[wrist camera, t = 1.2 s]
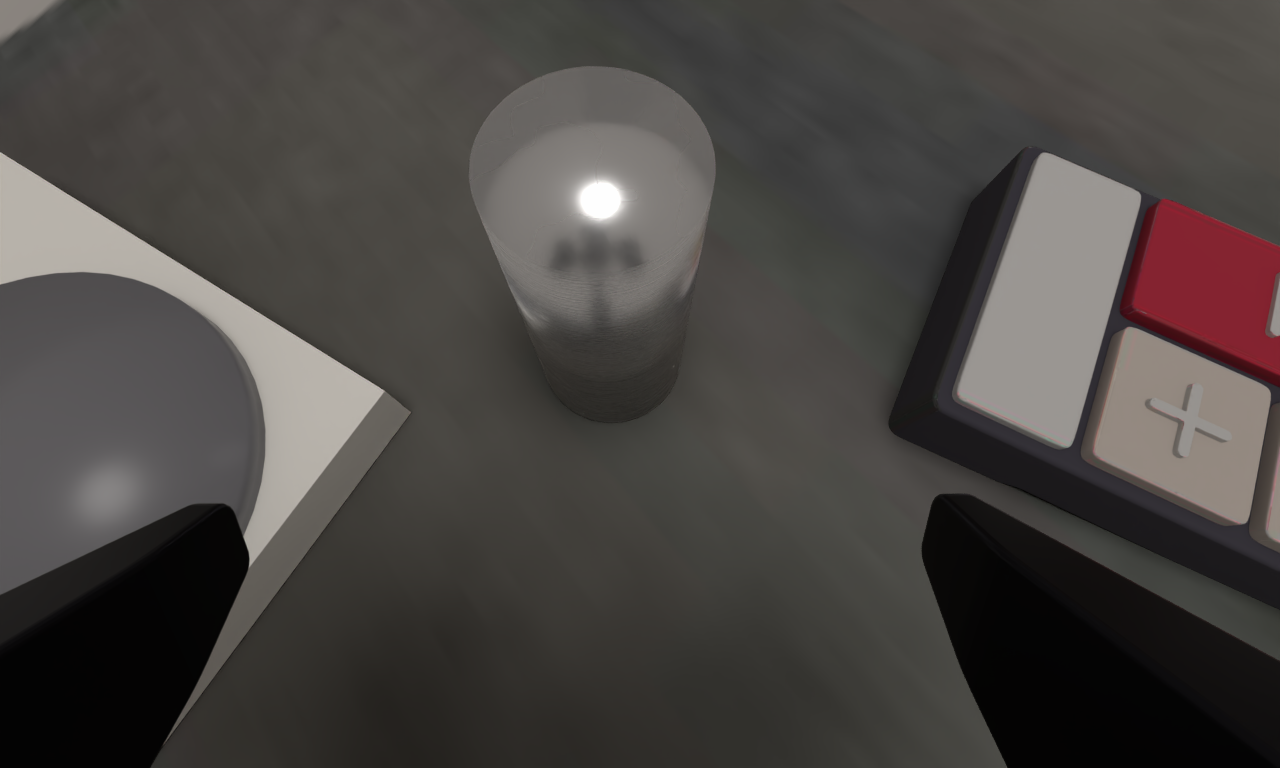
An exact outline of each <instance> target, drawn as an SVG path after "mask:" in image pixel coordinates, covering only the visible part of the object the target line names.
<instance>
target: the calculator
mask: <svg viewBox="0 0 1280 768" xmlns="http://www.w3.org/2000/svg"><path fill="white" fill-rule="evenodd" d="M889 427H890V429H891V431H892V432H893V433H894V434H895V435H897V436H899V437H901V438H903V439H905V440H907V441H909V442H911V443H914V444H916V445H918V446H920V447H922V448H925V449H927V450H929V451H931V452H933V453H936V454H938V455H940V456H942V457H944V458H947V459H949V460H951V461H953V462H955V463H958V464H960V465H962V466H964V467H966V468H969V469H971V470H973V471H975V472H977V473H980V474H982V475H984V476H986V477H988V478H991V479H993V480H995V481H998V482H1000V483H1003V484H1007V485H1011V486H1014V487H1017V488H1020V489H1022V490H1024V491H1026V492H1028V493H1030V494H1033V495H1035V496H1037V497H1039V498H1041V499H1043V500H1045V501H1047V502H1049V503H1052V504H1054V505H1056V506H1058V507H1060V508H1062V509H1064V510H1066V511H1068V512H1070V513H1073V514H1075V515H1077V516H1079V517H1081V518H1083V519H1085V520H1087V521H1089V522H1091V523H1094V524H1096V525H1098V526H1100V527H1102V528H1104V529H1106V530H1108V531H1110V532H1112V533H1115V534H1117V535H1119V536H1121V537H1123V538H1125V539H1127V540H1129V541H1131V542H1134V543H1136V544H1138V545H1140V546H1142V547H1144V548H1146V549H1148V550H1150V551H1152V552H1155V553H1157V554H1159V555H1161V556H1163V557H1165V558H1167V559H1170V560H1172V561H1174V562H1176V563H1178V564H1181V565H1183V566H1185V567H1187V568H1189V569H1192V570H1194V571H1196V572H1198V573H1200V574H1203V575H1205V576H1207V577H1209V578H1211V579H1213V580H1216V581H1218V582H1220V583H1222V584H1224V585H1227V586H1229V587H1231V588H1233V589H1235V590H1238V591H1240V592H1242V593H1244V594H1246V595H1249V596H1251V597H1253V598H1255V599H1257V600H1260V601H1262V602H1264V603H1266V604H1268V605H1271V606H1273V607H1275V608H1277V609H1279V610H1280V246H1278V245H1276V244H1273V243H1271V242H1269V241H1266V240H1264V239H1262V238H1259V237H1257V236H1255V235H1252V234H1250V233H1247V232H1245V231H1243V230H1240V229H1238V228H1236V227H1233V226H1231V225H1229V224H1226V223H1224V222H1222V221H1219V220H1217V219H1214V218H1212V217H1210V216H1207V215H1205V214H1203V213H1200V212H1198V211H1196V210H1193V209H1191V208H1189V207H1186V206H1184V205H1182V204H1179V203H1177V202H1174V201H1171V200H1168V199H1161V200H1160V199H1158V198H1156V197H1153V196H1151V195H1149V194H1146V193H1144V192H1142V191H1139V190H1137V189H1135V188H1132V187H1130V186H1127V185H1125V184H1123V183H1120V182H1118V181H1116V180H1113V179H1111V178H1109V177H1106V176H1104V175H1102V174H1099V173H1097V172H1095V171H1092V170H1090V169H1087V168H1085V167H1083V166H1080V165H1078V164H1076V163H1073V162H1071V161H1069V160H1066V159H1064V158H1062V157H1059V156H1057V155H1055V154H1052V153H1050V152H1047V151H1045V150H1043V149H1040V148H1037V147H1033V146H1029V147H1026V148H1024V149H1023V150H1022V151H1021V152H1020V153H1018V154H1017V155H1016V157H1015V158H1014V159H1013V160H1012V161H1011V162H1010V163H1009V164H1008V165H1007V166H1006V167H1005V168H1004V169H1003V170H1002V171H1001V172H1000V173H999V174H998V175H997V176H996V177H995V178H994V179H993V180H992V181H991V182H990V183H989V184H988V185H987V187H986V188H985V189H984V190H983V191H982V192H981V193H980V194H979V195H978V196H977V197H976V198H975V199H974V200H973V201H972V203H971V205H970V208H969V210H968V213H967V215H966V218H965V221H964V223H963V226H962V229H961V231H960V234H959V236H958V239H957V242H956V244H955V247H954V250H953V252H952V255H951V257H950V260H949V263H948V265H947V268H946V271H945V273H944V276H943V278H942V281H941V284H940V286H939V289H938V292H937V294H936V297H935V299H934V302H933V305H932V307H931V310H930V313H929V315H928V318H927V320H926V323H925V326H924V328H923V331H922V334H921V336H920V339H919V341H918V344H917V347H916V349H915V352H914V355H913V357H912V360H911V362H910V365H909V368H908V370H907V373H906V376H905V378H904V381H903V383H902V386H901V389H900V391H899V394H898V397H897V399H896V402H895V404H894V407H893V410H892V412H891V415H890V418H889Z"/></svg>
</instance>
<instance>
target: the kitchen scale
mask: <svg viewBox="0 0 1280 768" xmlns="http://www.w3.org/2000/svg"><path fill="white" fill-rule="evenodd" d="M410 414H411V412H410V411H409V410H407V409H406V408H405V407H404V406H403V405H401V404H400V403H399V402H398V401H396V400H395V399H394V398H393V397H392V396H390V395H389V394H388V393H387V392H385V391H384V390H382V389H381V388H379V387H378V386H376V385H374V384H373V383H371V382H369V381H368V380H366V379H365V378H363V377H361V376H360V375H358V374H357V373H355V372H353V371H352V370H350V369H349V368H347V367H345V366H344V365H342V364H340V363H339V362H337V361H336V360H334V359H332V358H331V357H329V356H328V355H326V354H324V353H323V352H321V351H320V350H318V349H316V348H315V347H313V346H311V345H310V344H308V343H307V342H305V341H303V340H302V339H300V338H299V337H297V336H295V335H294V334H292V333H290V332H289V331H287V330H286V329H284V328H282V327H281V326H279V325H278V324H276V323H274V322H273V321H271V320H270V319H268V318H266V317H265V316H263V315H261V314H260V313H258V312H257V311H255V310H253V309H252V308H250V307H249V306H247V305H245V304H244V303H242V302H241V301H239V300H237V299H236V298H234V297H232V296H231V295H229V294H228V293H226V292H224V291H223V290H221V289H220V288H218V287H216V286H215V285H213V284H212V283H210V282H208V281H207V280H205V279H203V278H202V277H200V276H199V275H197V274H195V273H194V272H192V271H191V270H189V269H187V268H186V267H184V266H183V265H181V264H179V263H178V262H176V261H174V260H173V259H171V258H170V257H168V256H166V255H165V254H163V253H162V252H160V251H158V250H157V249H155V248H153V247H152V246H150V245H149V244H147V243H145V242H144V241H142V240H141V239H139V238H137V237H136V236H134V235H133V234H131V233H129V232H128V231H126V230H124V229H123V228H121V227H120V226H118V225H116V224H115V223H113V222H112V221H110V220H108V219H107V218H105V217H104V216H102V215H100V214H99V213H97V212H95V211H94V210H92V209H91V208H89V207H87V206H86V205H84V204H83V203H81V202H79V201H78V200H76V199H75V198H73V197H71V196H70V195H68V194H66V193H65V192H63V191H62V190H60V189H58V188H57V187H55V186H54V185H52V184H50V183H49V182H47V181H46V180H44V179H42V178H41V177H39V176H37V175H36V174H34V173H33V172H31V171H29V170H28V169H26V168H25V167H23V166H21V165H20V164H18V163H16V162H15V161H13V160H12V159H10V158H8V157H7V156H5V155H4V154H2V153H0V595H1V594H3V593H5V592H7V591H9V590H11V589H13V588H15V587H18V586H20V585H22V584H24V583H26V582H28V581H30V580H32V579H34V578H37V577H39V576H41V575H43V574H45V573H47V572H49V571H51V570H53V569H55V568H58V567H60V566H62V565H64V564H66V563H68V562H70V561H72V560H74V559H77V558H79V557H81V556H83V555H85V554H87V553H89V552H91V551H93V550H95V549H98V548H100V547H102V546H104V545H106V544H108V543H110V542H112V541H114V540H117V539H119V538H121V537H123V536H125V535H127V534H129V533H131V532H133V531H135V530H138V529H140V528H142V527H144V526H146V525H148V524H150V523H152V522H154V521H157V520H159V519H161V518H163V517H165V516H167V515H169V514H171V513H173V512H175V511H178V510H180V509H182V508H184V507H186V506H188V505H191V504H196V503H224V504H227V505H229V506H230V507H231V508H232V509H233V510H234V512H235V515H236V517H237V520H238V523H239V526H240V529H241V531H242V534H243V537H244V540H245V543H246V545H247V548H248V551H249V558H250V562H249V568H248V572H247V575H246V577H245V579H244V582H243V584H242V586H241V588H240V590H239V593H238V595H237V597H236V599H235V602H234V604H233V606H232V608H231V611H230V613H229V615H228V617H227V620H226V622H225V624H224V626H223V629H222V631H221V633H220V635H219V638H218V640H217V642H216V644H215V646H214V649H213V651H212V653H211V655H210V658H209V660H208V662H207V664H206V667H205V669H204V671H203V673H202V675H201V677H200V679H199V681H198V683H197V685H196V687H195V689H194V691H193V693H192V694H191V696H190V698H189V700H188V702H187V704H186V706H185V707H184V709H183V711H182V713H181V714H180V716H179V718H178V720H177V721H176V723H175V725H174V727H173V728H172V730H171V732H170V734H169V735H168V737H167V739H166V741H167V740H168V738H169V737H170V736H171V734H172V733H173V732H174V730H175V729H176V728H177V726H178V725H179V723H180V722H181V721H182V719H183V718H184V717H185V715H186V714H187V713H188V711H189V710H190V709H191V707H192V706H193V705H194V703H195V702H196V701H197V699H198V698H199V697H200V695H201V694H202V693H203V691H204V690H205V689H206V687H207V686H208V685H209V683H210V682H211V681H212V679H213V678H214V677H215V675H216V674H217V673H218V671H219V670H220V668H221V667H222V666H223V664H224V663H225V662H226V660H227V659H228V658H229V656H230V655H231V654H232V652H233V651H234V650H235V648H236V647H237V646H238V644H239V643H240V642H241V640H242V639H243V638H244V636H245V635H246V634H247V632H248V631H249V630H250V628H251V627H252V626H253V624H254V623H255V622H256V620H257V619H258V617H259V616H260V615H261V613H262V612H263V611H264V609H265V608H266V607H267V605H268V604H269V603H270V601H271V600H272V599H273V597H274V596H275V595H276V593H277V592H278V591H279V589H280V588H281V587H282V585H283V584H284V583H285V581H286V580H287V579H288V577H289V576H290V575H291V573H292V572H293V571H294V569H295V568H296V566H297V565H298V564H299V562H300V561H301V560H302V558H303V557H304V556H305V554H306V553H307V552H308V550H309V549H310V548H311V546H312V545H313V544H314V542H315V541H316V540H317V538H318V537H319V536H320V534H321V533H322V532H323V530H324V529H325V528H326V526H327V525H328V524H329V522H330V521H331V520H332V518H333V517H334V515H335V514H336V513H337V511H338V510H339V509H340V507H341V506H342V505H343V503H344V502H345V501H346V499H347V498H348V497H349V495H350V494H351V493H352V491H353V490H354V489H355V487H356V486H357V485H358V483H359V482H360V481H361V479H362V478H363V477H364V475H365V474H366V473H367V471H368V470H369V469H370V467H371V466H372V465H373V463H374V462H375V460H376V459H377V458H378V456H379V455H380V454H381V452H382V451H383V450H384V448H385V447H386V446H387V444H388V443H389V442H390V440H391V439H392V438H393V436H394V435H395V434H396V432H397V431H398V430H399V428H400V427H401V426H402V424H403V423H404V422H405V420H406V419H407V418H408V416H409V415H410ZM166 741H165V742H166ZM165 742H164V744H165ZM164 744H163V745H164Z"/></svg>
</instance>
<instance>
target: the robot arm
mask: <svg viewBox="0 0 1280 768" xmlns="http://www.w3.org/2000/svg"><path fill="white" fill-rule="evenodd" d="M922 559H923V563H924V566H925V569H926V572H927V575H928V577H929V580H930V583H931V586H932V589H933V592H934V594H935V597H936V600H937V603H938V606H939V609H940V611H941V614H942V617H943V620H944V623H945V626H946V628H947V631H948V634H949V637H950V640H951V643H952V645H953V648H954V651H955V654H956V657H957V659H958V662H959V664H960V667H961V669H962V672H963V674H964V677H965V679H966V681H967V683H968V685H969V688H970V690H971V692H972V694H973V696H974V698H975V701H976V703H977V705H978V707H979V709H980V711H981V713H982V715H983V717H984V719H985V721H986V724H987V726H988V728H989V730H990V732H991V734H992V736H993V738H994V740H995V742H996V745H997V747H998V749H999V751H1000V753H1001V755H1002V757H1003V759H1004V761H1005V763H1006V765H1007V768H1280V661H1279V660H1277V659H1275V658H1273V657H1271V656H1270V655H1268V654H1266V653H1264V652H1262V651H1260V650H1259V649H1257V648H1255V647H1253V646H1251V645H1249V644H1247V643H1246V642H1244V641H1242V640H1240V639H1238V638H1236V637H1234V636H1233V635H1231V634H1229V633H1227V632H1225V631H1223V630H1221V629H1220V628H1218V627H1216V626H1214V625H1212V624H1210V623H1209V622H1207V621H1205V620H1203V619H1201V618H1199V617H1197V616H1196V615H1194V614H1192V613H1190V612H1188V611H1186V610H1184V609H1183V608H1181V607H1179V606H1177V605H1175V604H1173V603H1171V602H1170V601H1168V600H1166V599H1164V598H1162V597H1160V596H1159V595H1157V594H1155V593H1153V592H1151V591H1149V590H1147V589H1146V588H1144V587H1142V586H1140V585H1138V584H1136V583H1134V582H1133V581H1131V580H1129V579H1127V578H1125V577H1123V576H1121V575H1120V574H1118V573H1116V572H1114V571H1112V570H1110V569H1109V568H1107V567H1105V566H1103V565H1101V564H1099V563H1097V562H1096V561H1094V560H1092V559H1090V558H1088V557H1086V556H1084V555H1083V554H1081V553H1079V552H1077V551H1075V550H1073V549H1072V548H1070V547H1068V546H1066V545H1064V544H1062V543H1060V542H1059V541H1057V540H1055V539H1053V538H1051V537H1049V536H1047V535H1046V534H1044V533H1042V532H1040V531H1038V530H1036V529H1035V528H1033V527H1031V526H1029V525H1027V524H1025V523H1023V522H1022V521H1020V520H1018V519H1016V518H1014V517H1012V516H1010V515H1009V514H1007V513H1005V512H1003V511H1001V510H999V509H998V508H996V507H994V506H992V505H990V504H988V503H986V502H985V501H983V500H981V499H979V498H977V497H975V496H973V495H971V494H940V495H938V496H936V497H935V499H934V500H933V502H932V505H931V509H930V513H929V517H928V521H927V525H926V529H925V533H924V537H923V542H922ZM249 562H250V558H249V551H248V548H247V545H246V543H245V540H244V537H243V534H242V531H241V529H240V526H239V523H238V520H237V517H236V515H235V512H234V510H233V509H232V508H231V507H230V506H229V505H227V504H224V503H196V504H191V505H188V506H186V507H184V508H182V509H180V510H178V511H175V512H173V513H171V514H169V515H167V516H165V517H163V518H161V519H159V520H157V521H154V522H152V523H150V524H148V525H146V526H144V527H142V528H140V529H138V530H135V531H133V532H131V533H129V534H127V535H125V536H123V537H121V538H119V539H117V540H114V541H112V542H110V543H108V544H106V545H104V546H102V547H100V548H98V549H95V550H93V551H91V552H89V553H87V554H85V555H83V556H81V557H79V558H77V559H74V560H72V561H70V562H68V563H66V564H64V565H62V566H60V567H58V568H55V569H53V570H51V571H49V572H47V573H45V574H43V575H41V576H39V577H37V578H34V579H32V580H30V581H28V582H26V583H24V584H22V585H20V586H18V587H15V588H13V589H11V590H9V591H7V592H5V593H3V594H1V595H0V768H150V767H151V765H152V764H153V762H154V760H155V758H156V757H157V755H158V753H159V751H160V750H161V748H162V746H163V744H164V742H165V741H166V739H167V737H168V735H169V734H170V732H171V730H172V728H173V727H174V725H175V723H176V721H177V720H178V718H179V716H180V714H181V713H182V711H183V709H184V707H185V706H186V704H187V702H188V700H189V698H190V696H191V694H192V693H193V691H194V689H195V687H196V685H197V683H198V681H199V679H200V677H201V675H202V673H203V671H204V669H205V667H206V664H207V662H208V660H209V658H210V655H211V653H212V651H213V649H214V646H215V644H216V642H217V640H218V638H219V635H220V633H221V631H222V629H223V626H224V624H225V622H226V620H227V617H228V615H229V613H230V611H231V608H232V606H233V604H234V602H235V599H236V597H237V595H238V593H239V590H240V588H241V586H242V584H243V582H244V579H245V577H246V575H247V572H248V568H249Z"/></svg>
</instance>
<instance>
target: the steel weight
mask: <svg viewBox="0 0 1280 768" xmlns="http://www.w3.org/2000/svg"><path fill="white" fill-rule="evenodd" d="M715 170H716V163H715V154H714V149H713V145H712V141H711V138H710V136H709V134H708V131H707V129H706V127H705V125H704V123H703V122H702V120H701V119H700V117H699V115H698V114H697V113H696V112H695V110H694V109H693V108H692V107H691V106H690V104H688V103H687V102H686V101H685V100H684V99H683V98H682V97H681V96H680V95H679V94H677V93H676V92H674V91H673V90H672V89H670V88H669V87H667V86H666V85H664V84H662V83H660V82H658V81H657V80H655V79H652V78H650V77H647V76H645V75H643V74H639V73H636V72H633V71H629V70H625V69H619V68H613V67H600V66H591V67H577V68H570V69H565V70H561V71H557V72H552V73H550V74H547V75H544V76H541V77H539V78H537V79H534V80H532V81H530V82H528V83H526V84H524V85H523V86H521V87H520V88H518V89H517V90H515V91H514V92H512V93H511V94H510V95H508V96H507V97H506V98H505V99H504V100H502V101H501V102H500V103H499V104H498V105H497V106H496V108H495V109H494V110H493V111H492V112H491V113H490V115H489V116H488V117H487V119H486V120H485V121H484V123H483V125H482V126H481V128H480V130H479V132H478V134H477V136H476V139H475V142H474V144H473V147H472V151H471V156H470V161H469V181H470V189H471V193H472V196H473V200H474V203H475V205H476V208H477V210H478V213H479V215H480V217H481V220H482V222H483V225H484V227H485V230H486V232H487V234H488V237H489V239H490V242H491V244H492V247H493V249H494V251H495V254H496V256H497V259H498V261H499V264H500V266H501V268H502V271H503V273H504V276H505V278H506V281H507V283H508V285H509V288H510V290H511V293H512V295H513V298H514V300H515V302H516V305H517V307H518V310H519V312H520V315H521V317H522V319H523V322H524V324H525V327H526V329H527V331H528V334H529V336H530V339H531V341H532V344H533V346H534V348H535V351H536V353H537V356H538V358H539V361H540V363H541V365H542V368H543V370H544V373H545V375H546V378H547V380H548V382H549V385H550V387H551V389H552V390H553V392H554V394H555V395H556V396H557V398H558V399H559V400H560V401H561V402H562V403H563V404H564V405H565V406H566V407H567V408H568V409H570V410H571V411H573V412H574V413H576V414H578V415H580V416H582V417H584V418H587V419H590V420H593V421H598V422H606V423H618V422H625V421H630V420H633V419H636V418H639V417H641V416H643V415H645V414H647V413H648V412H650V411H652V410H653V409H654V408H656V407H657V406H658V405H659V404H660V403H661V402H662V401H663V400H664V399H665V398H666V397H667V395H668V394H669V393H670V391H671V390H672V388H673V386H674V384H675V382H676V379H677V376H678V372H679V368H680V362H681V357H682V352H683V346H684V341H685V336H686V331H687V325H688V320H689V315H690V309H691V304H692V299H693V293H694V288H695V283H696V278H697V272H698V267H699V262H700V256H701V251H702V246H703V240H704V235H705V230H706V225H707V219H708V214H709V209H710V203H711V198H712V193H713V187H714V182H715Z"/></svg>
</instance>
